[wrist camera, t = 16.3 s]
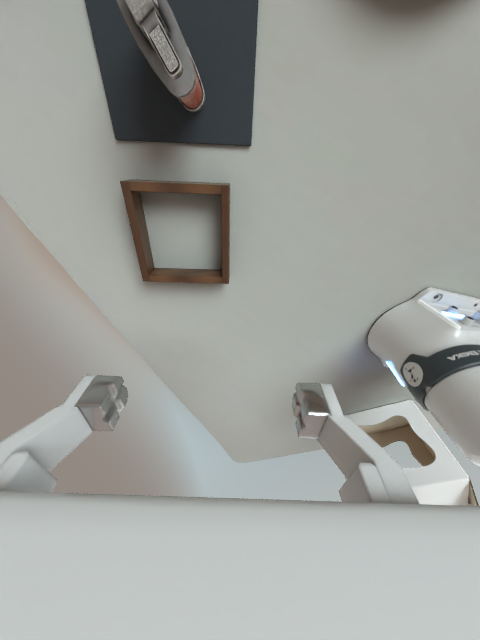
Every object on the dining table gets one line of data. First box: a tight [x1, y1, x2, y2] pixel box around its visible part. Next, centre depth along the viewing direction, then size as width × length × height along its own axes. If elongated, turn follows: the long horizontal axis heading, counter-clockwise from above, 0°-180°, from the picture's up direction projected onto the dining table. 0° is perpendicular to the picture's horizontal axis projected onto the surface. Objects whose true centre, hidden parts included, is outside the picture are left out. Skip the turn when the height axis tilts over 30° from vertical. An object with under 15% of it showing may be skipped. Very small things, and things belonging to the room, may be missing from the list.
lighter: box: [116, 0, 205, 112], centre depth 19 cm, size 8×3×10 cm, turn 31°
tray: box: [120, 180, 230, 284], centre depth 32 cm, size 13×13×3 cm
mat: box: [85, 0, 258, 146], centre depth 23 cm, size 16×13×1 cm
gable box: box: [344, 400, 479, 506], centre depth 51 cm, size 22×13×28 cm, turn 114°
